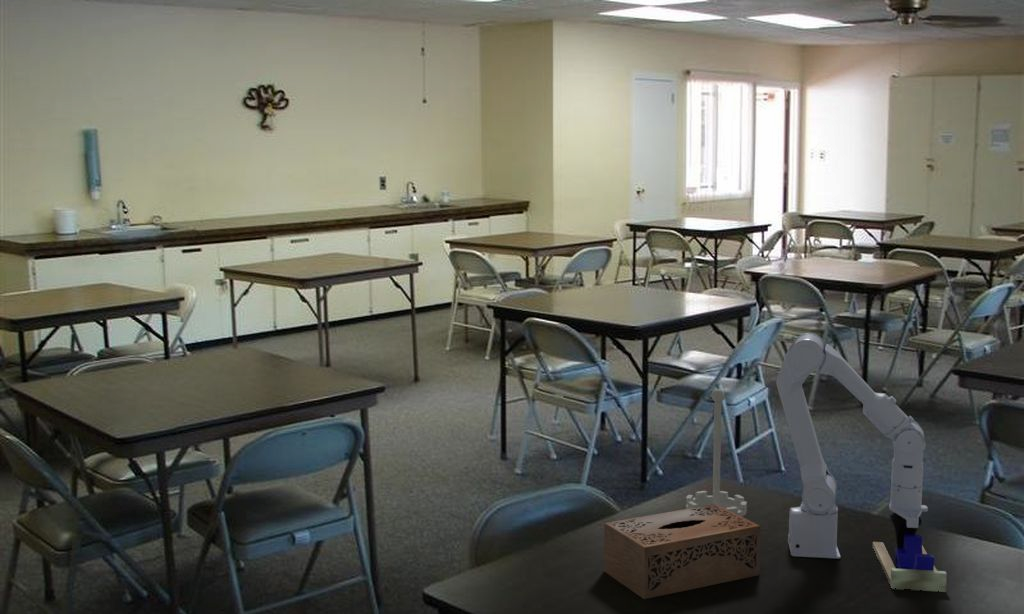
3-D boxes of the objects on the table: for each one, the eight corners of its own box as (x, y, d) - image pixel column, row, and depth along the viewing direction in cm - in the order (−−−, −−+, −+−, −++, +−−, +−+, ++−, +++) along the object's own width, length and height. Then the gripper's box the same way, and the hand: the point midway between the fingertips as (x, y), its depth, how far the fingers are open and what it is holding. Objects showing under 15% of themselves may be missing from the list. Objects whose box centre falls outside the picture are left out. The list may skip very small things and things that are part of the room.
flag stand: (752, 533, 221) (755, 395, 217) (690, 533, 221) (692, 395, 217) (739, 513, 234) (742, 382, 230) (681, 513, 234) (683, 382, 230)
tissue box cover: (714, 551, 212) (715, 503, 211) (759, 576, 199) (760, 525, 198) (604, 572, 201) (604, 523, 200) (643, 600, 188) (644, 547, 187)
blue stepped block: (894, 562, 204) (896, 533, 204) (918, 564, 204) (920, 534, 203) (907, 587, 193) (908, 556, 192) (932, 588, 192) (934, 557, 191)
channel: (891, 588, 192) (892, 570, 192) (872, 547, 213) (873, 530, 212) (945, 592, 190) (946, 573, 190) (921, 550, 211) (922, 533, 211)
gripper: (936, 496, 196) (933, 565, 197) (920, 474, 210) (917, 538, 212) (897, 494, 197) (894, 563, 199) (883, 472, 211) (881, 537, 213)
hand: (903, 550), depth 205 cm, fingers closed
